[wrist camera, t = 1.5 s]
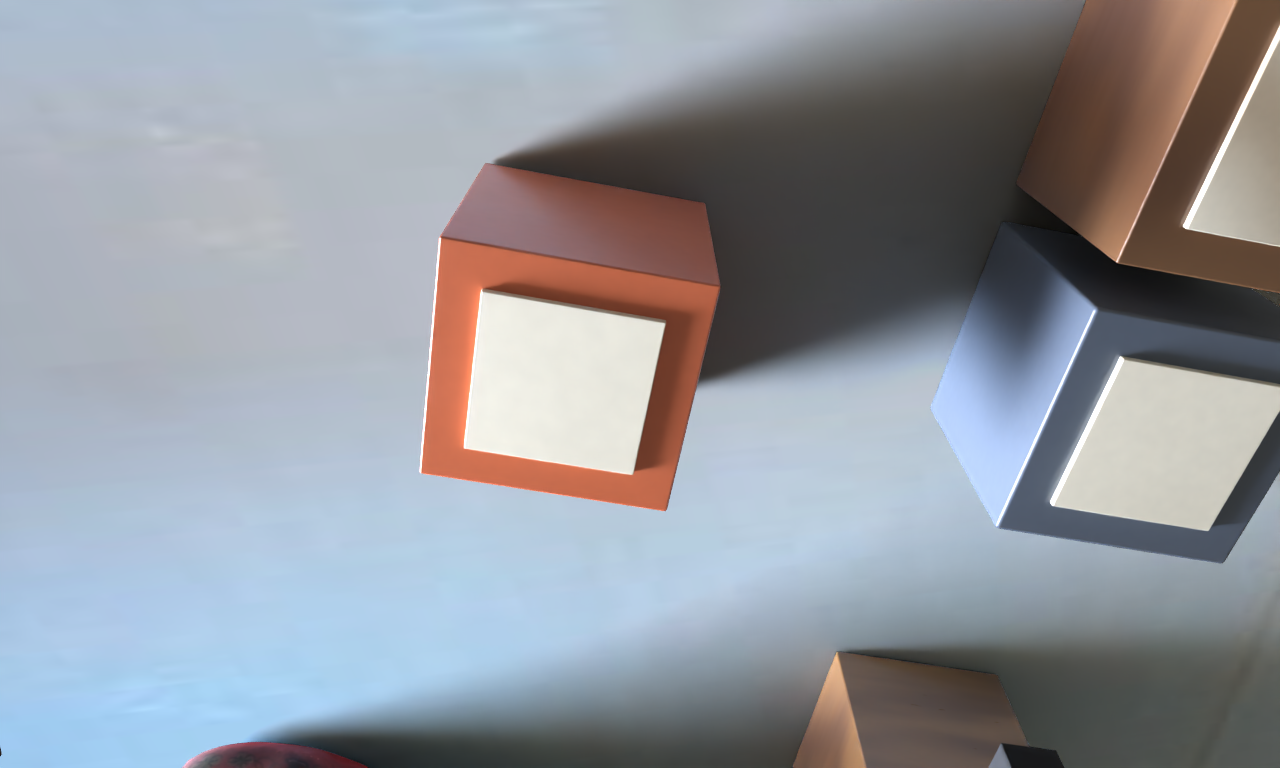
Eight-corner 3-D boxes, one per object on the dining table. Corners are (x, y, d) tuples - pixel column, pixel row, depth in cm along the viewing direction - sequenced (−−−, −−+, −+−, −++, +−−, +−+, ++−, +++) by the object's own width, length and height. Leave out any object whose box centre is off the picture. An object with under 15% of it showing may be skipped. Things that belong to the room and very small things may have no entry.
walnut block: (1108, -61, 22) (1262, -48, 16) (1342, -11, 22) (1568, 18, 17) (1014, 184, 24) (1119, 266, 19) (1224, 224, 25) (1385, 314, 19)
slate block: (1000, 219, 25) (1099, 309, 19) (1207, 258, 25) (1360, 356, 20) (929, 408, 28) (997, 533, 22) (1115, 439, 28) (1227, 569, 23)
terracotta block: (484, 162, 24) (437, 238, 19) (705, 202, 25) (721, 288, 19) (463, 361, 27) (417, 477, 22) (663, 393, 27) (666, 516, 22)
